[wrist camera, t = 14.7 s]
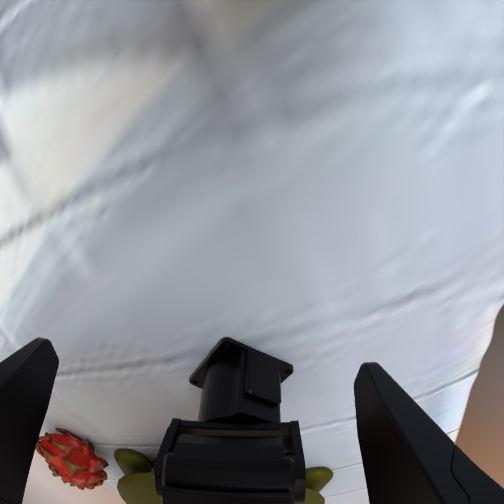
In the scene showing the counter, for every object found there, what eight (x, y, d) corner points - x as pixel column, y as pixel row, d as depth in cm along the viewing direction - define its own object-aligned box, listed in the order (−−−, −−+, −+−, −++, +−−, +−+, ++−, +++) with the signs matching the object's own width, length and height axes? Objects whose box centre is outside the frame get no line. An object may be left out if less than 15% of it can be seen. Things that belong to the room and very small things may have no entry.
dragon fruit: (120, 451, 39) (54, 408, 38) (119, 466, 32) (41, 415, 30) (98, 489, 35) (33, 447, 33) (94, 510, 28) (17, 460, 26)
